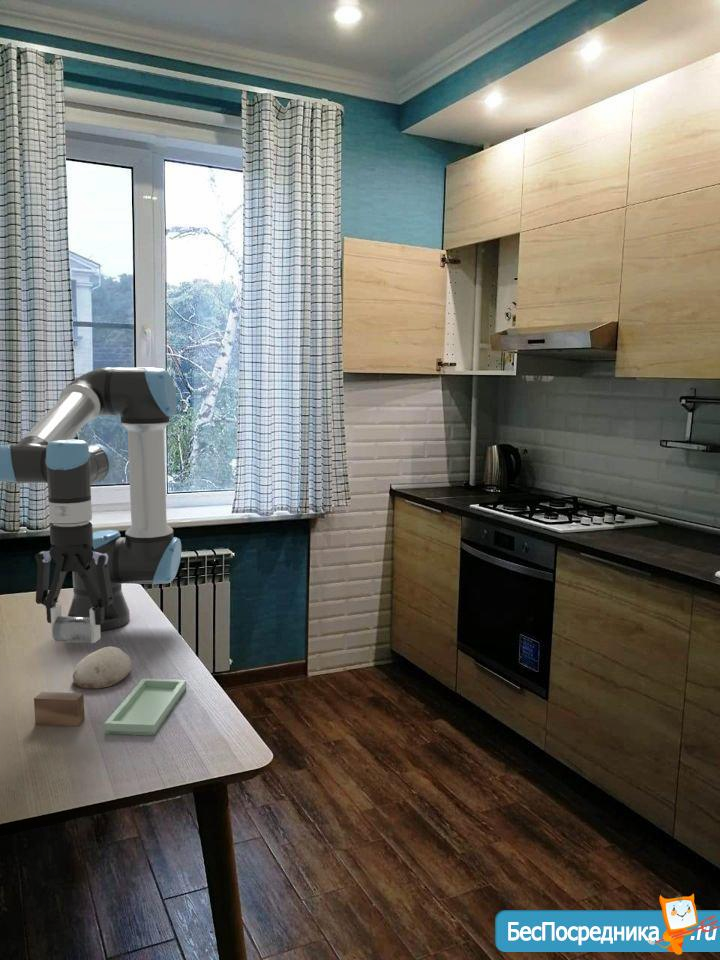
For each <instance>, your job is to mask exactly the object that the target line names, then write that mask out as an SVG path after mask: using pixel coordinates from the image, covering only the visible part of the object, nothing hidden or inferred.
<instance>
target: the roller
mask: <svg viewBox="0 0 720 960" xmlns="http://www.w3.org/2000/svg"><path fill="white" fill-rule="evenodd" d="M53 638H54V640H55V641H54V642H60V643H61V642H62V643H82V644H83V643H85V644H87V643H88V644H92V643H91V630H90V617H67V615H66V616H63V615H62V616H59V617H58V618H57V619H56V620H55V622H54V625H53Z"/></svg>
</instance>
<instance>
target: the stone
mask: <svg viewBox="0 0 720 960" xmlns="http://www.w3.org/2000/svg"><path fill="white" fill-rule="evenodd" d="M131 670H132V661H131V659H130V657H129V655H128V654H126V653H125V651H123V650H122V649H121V648H119V647H117V646H110V645H109V646H105V647H101V648H99V649H97V650H95V651H93V652H91V653H89V654H88V655H86V656H85V657H83V658H82V659H81V660H80V661H79V662H78V663H77V664H76V666H75V669H74V670H73V674H72V681H73V682H74V683H75V685H76V686H78V687H80V688H84V689H85V688H87V689H88V688H89V689H104V688H108V687H111V686H114V685H116V684H117V683H119V682H121V681H123V680H124V679H125V678H126V677H127V676H128V675H129V673H130V671H131Z"/></svg>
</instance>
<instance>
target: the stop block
mask: <svg viewBox="0 0 720 960" xmlns="http://www.w3.org/2000/svg"><path fill="white" fill-rule="evenodd" d="M33 705H34V706H33V707H34V719H35V720H34V722H35V723H34V724H35V725H37V726H38V725H39V726H40V725H41V726H62V727H63V726H64V727H65V726H66V727H79V725H81V724H82V722H83V721H84V720H85V719H86V717H85V715H86V714H85V712H86V711H85V695H84V692H61V691H60V692H58V691H41V692H39V694H38V695H36V696H35V697H34V698H33Z"/></svg>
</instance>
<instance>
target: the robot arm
mask: <svg viewBox="0 0 720 960" xmlns="http://www.w3.org/2000/svg"><path fill="white" fill-rule="evenodd" d="M58 398H59V399H58V401H57V402H56V403H55V404H54V405H53V406H52V408H50V410H48V411H47V412H46V413H45V414H44V415H43V417H42V418H41V419H40V420H39V421H38V422H37V423H36V424H35V425H34V426H33V427H32V428H31V429H30V431H28V432H27V434H25V435H24V436H23V437H22V438H21V440H19V442H17V444H11V443H9V444H1V445H0V482H1V483H12V484H13V483H15V484H44V483H45V484H47V493H48V495H47V496H48V498H47V499H48V516H49V522H50V523H52V524H51V525H50V526H49V536H50V537H49V538H50V540H49V541H50V544H51V547H50V549H49V550H42V551H40V552H38V553H36V554H35V556H34V558H35V561H36V564H37V571H36V585H35V586H36V587H35V591H36V592H35V604H37V605H40V604H41V605H43V606H45V609H46V623H48V624H51V627H50V628H51V641H52V642H56V641H55V640H54V638H53V625H54V622H55V620H56V619H57V618H58V617H59V616H63V615H62V604H61V603H59V597H60V593H61V590H62V588H63V587H62V586H63V584H64V582H65V578H66V576H67V573H69V572H72V587H73V588H72V589H73V595H72V599H71V602H70V606H69V610H68V613H67V615H66V617H90V630H91V643H90V644H95V643H97V642H98V641H99V640H100V639H101V637H102V636H101V632H102V631H109V630H113V629H116V628H120V627H122V626H123V627H124V626H125V625H126V624H127V623H129V622H130V620H131V618H130V617H131V616H130V608H129V607H128V603H127V601H126V598H125V596H124V592H123V590H122V584H136V585H137V584H140V585H141V584H142V585H143V584H144V585H145V584H147V585H148V584H150V585H157V584H158V585H160V584H162V585H163V584H165V585H166V584H169V583H171V582H173V580H174V579H175V577H177V576H176V575H177V573H178V570H179V567H180V563H181V557H182V542H181V539H180V538H178V537H176V536H175V537H174V529H173V528H172V527H171V526H170V525H169V524H167V499H166V498H167V496H166V494H167V493H166V490H167V489H166V464H165V463H166V461H165V436H164V435H165V433H164V431H165V429H166V428H167V426H168V425H169V424H170V422H171V419H170V418H171V417H174V416H175V415H176V413H177V410H178V408H177V406H178V398H177V391H176V386H175V383H174V379H173V377H172V376H171V374H170V373H169V371H167V370H166V369H164V368H162V367H161V368H158V367H150V366H147V367H112V366H111V367H110V366H109V367H107V366H105V367H101V368H95V369H94V370H91V371H88V372H85V373H84V374H82V375H79V377H77V378H76V379H75V378H74V379H73V380H72V381H71V382H70V383H68V385H66V386H65V387H64V388H63V389H62V390H61V392H60V393H59V397H58ZM100 416H120V424H121V426H123V427H124V428H125V429H126V431H127V449H128V471H129V472H128V473H129V476H128V477H129V496H130V499H129V500H130V501H129V502H130V523H131V525H130V527H129V528H127V530H125V537H124V536H123V537H121V533H120V531H119V530H114V529H108V530H107V529H106V530H105V529H104V530H99V531H94V530H93V523H92V522H90V521H92V519H93V511H92V510H93V509H92V492H91V491H92V489H91V487H92V486H91V485H93V484H95V483H99V482H102V481H103V480H104V479H106V478H107V477H108V476H109V475H110V474H111V473H112V471H113V469H114V466H115V461H114V457H113V455H112V453H111V451H110V449H108V448H107V447H105V446H104V445H102V444H98V443H94V444H92V443H91V444H90V443H88V442H87V441H85V440H82V439H73V438H74V437H75V436H76V435H77V434H78V433H79V431H80V430H81V429H82V428H83V426H84V425H85V424H86V423H88V422H92V421H93V420H95V419H96V418H97V417H100ZM93 531H94V532H93ZM52 560H53V562H54V563H55V564H56V565H55V568H54V571H53V578H52V581H51V584H50V571H51V561H52ZM49 584H50V585H49Z"/></svg>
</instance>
